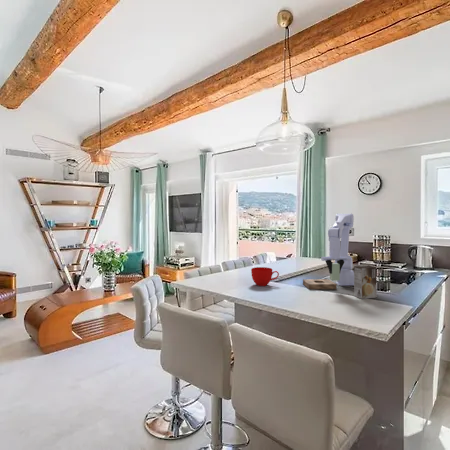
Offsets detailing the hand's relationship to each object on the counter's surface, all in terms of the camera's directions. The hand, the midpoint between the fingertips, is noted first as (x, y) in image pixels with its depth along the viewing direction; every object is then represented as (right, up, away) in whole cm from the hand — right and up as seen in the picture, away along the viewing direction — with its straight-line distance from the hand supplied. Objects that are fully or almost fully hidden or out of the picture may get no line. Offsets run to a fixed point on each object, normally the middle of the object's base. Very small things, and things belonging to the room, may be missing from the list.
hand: (334, 273), depth 175 cm
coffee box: (+12, -11, -11) cm, 20 cm away
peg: (0, -4, 0) cm, 4 cm away
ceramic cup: (-37, -10, +18) cm, 42 cm away
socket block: (-5, -10, +13) cm, 17 cm away
